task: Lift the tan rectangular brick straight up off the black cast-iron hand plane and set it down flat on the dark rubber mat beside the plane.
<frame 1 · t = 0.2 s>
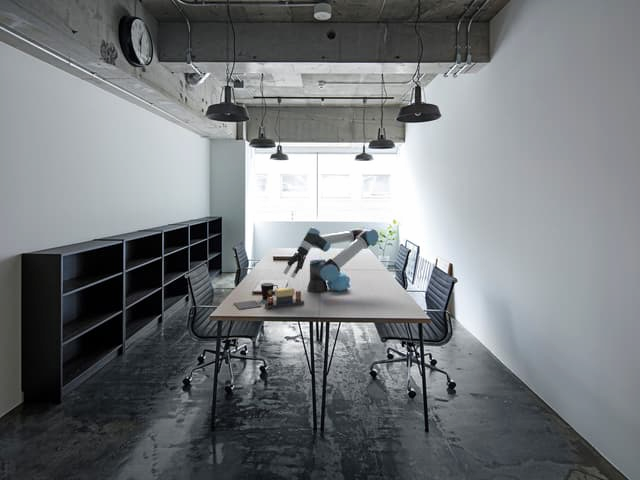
hand: (288, 275, 253), 16 cm above the table, tool tilted 35°, fingers open, 13 cm apart
coffee mug: (269, 298, 256), on the table
rubber mat: (247, 305, 240), on the table
decorative pot: (338, 289, 283), on the table
hand plane: (284, 305, 240), on the table
tan rectangular brick: (284, 295, 239), point 7 cm above the table, touching hand plane
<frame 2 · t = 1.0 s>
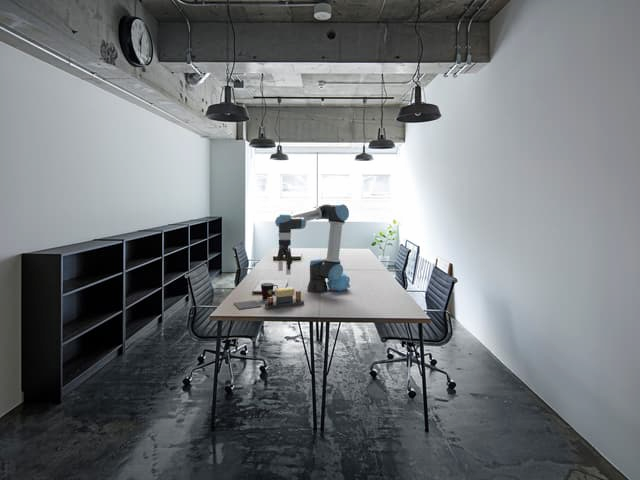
hand: (284, 272, 238), 21 cm above the table, tool pointing down, fingers open, 13 cm apart
nothing on the table moved.
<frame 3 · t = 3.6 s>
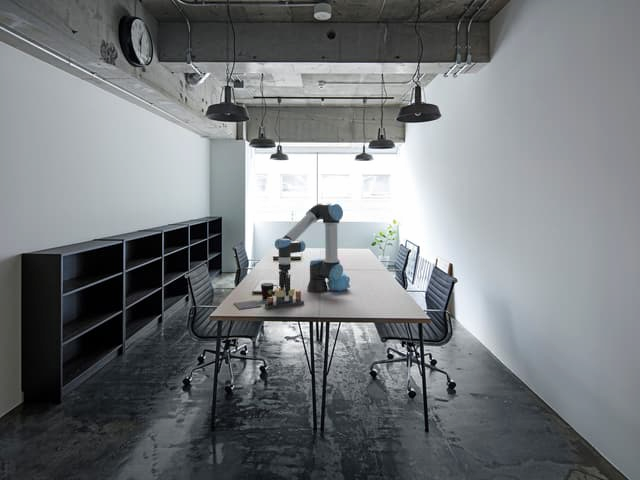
hand: (284, 299, 240), 4 cm above the table, tool pointing down, fingers closed on tan rectangular brick, 6 cm apart
tan rectangular brick: (284, 295, 239), point 7 cm above the table, touching gripper, hand plane
everything else where it was.
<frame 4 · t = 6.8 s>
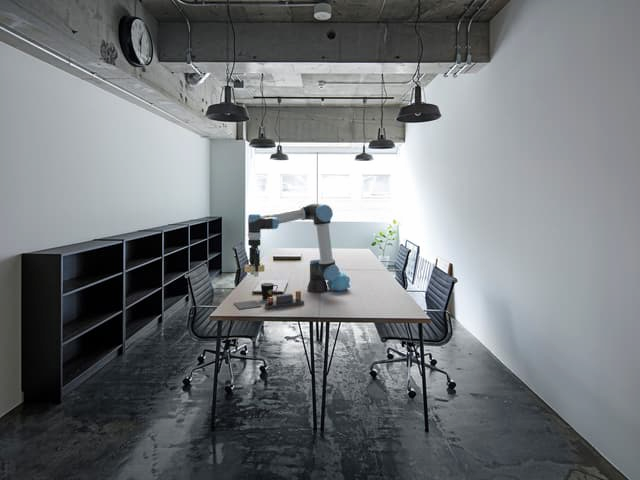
hand: (254, 275, 238), 19 cm above the table, tool pointing down, fingers closed on tan rectangular brick, 6 cm apart
tan rectangular brick: (254, 271, 237), point 22 cm above the table, touching gripper
everything else where it was.
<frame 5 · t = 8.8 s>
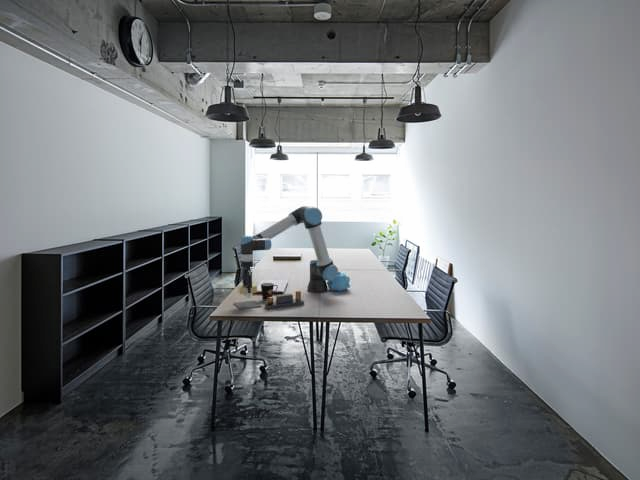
hand: (247, 296, 240), 6 cm above the table, tool pointing down, fingers closed on tan rectangular brick, 6 cm apart
tan rectangular brick: (247, 292, 239), point 9 cm above the table, touching gripper
everything else where it was.
when the fingers open (2 cm above the table, at t = 10.3 s): tan rectangular brick drops 4 cm, resting on rubber mat.
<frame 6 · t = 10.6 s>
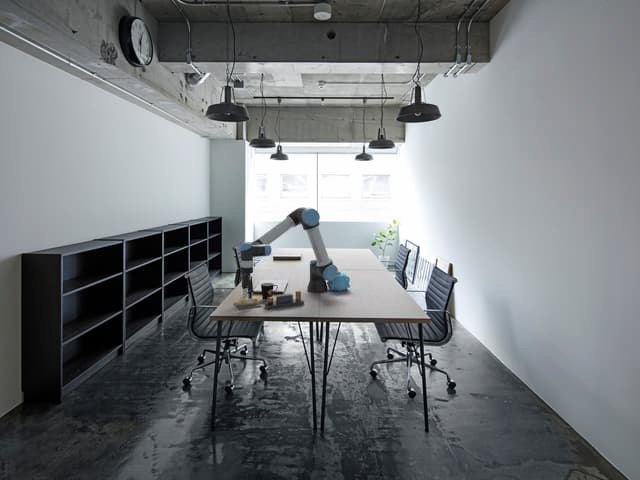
hand: (247, 300, 240), 3 cm above the table, tool pointing down, fingers open, 10 cm apart
tan rectangular brick: (247, 304, 240), point 1 cm above the table, touching rubber mat
everything else where it was.
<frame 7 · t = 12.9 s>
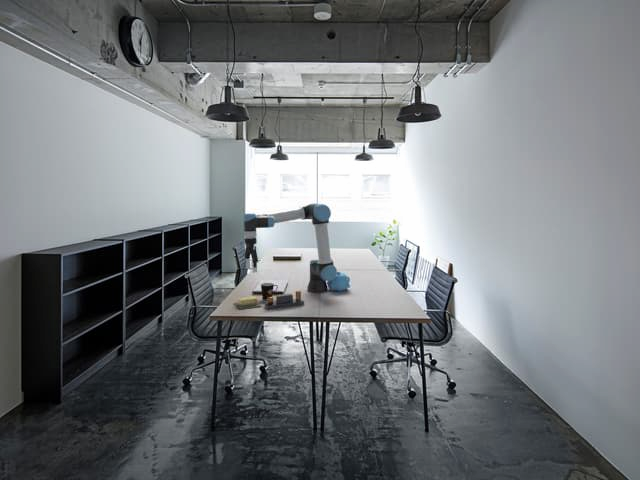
hand: (251, 270, 243), 22 cm above the table, tool pointing down, fingers open, 13 cm apart
nothing on the table moved.
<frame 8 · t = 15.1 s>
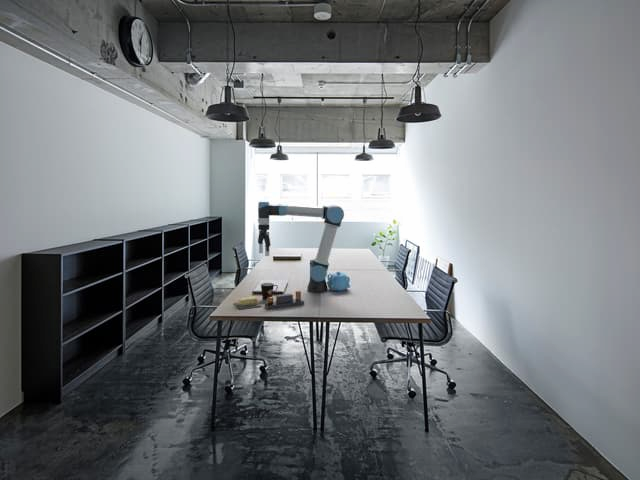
hand: (264, 254, 263), 29 cm above the table, tool pointing down, fingers open, 13 cm apart
nothing on the table moved.
at the end: tan rectangular brick inside the target area on the rubber mat (0.0 cm from its centre), point 0.6 cm above the rubber mat's base; tan rectangular brick tilted 0°; the gripper is holding nothing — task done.
